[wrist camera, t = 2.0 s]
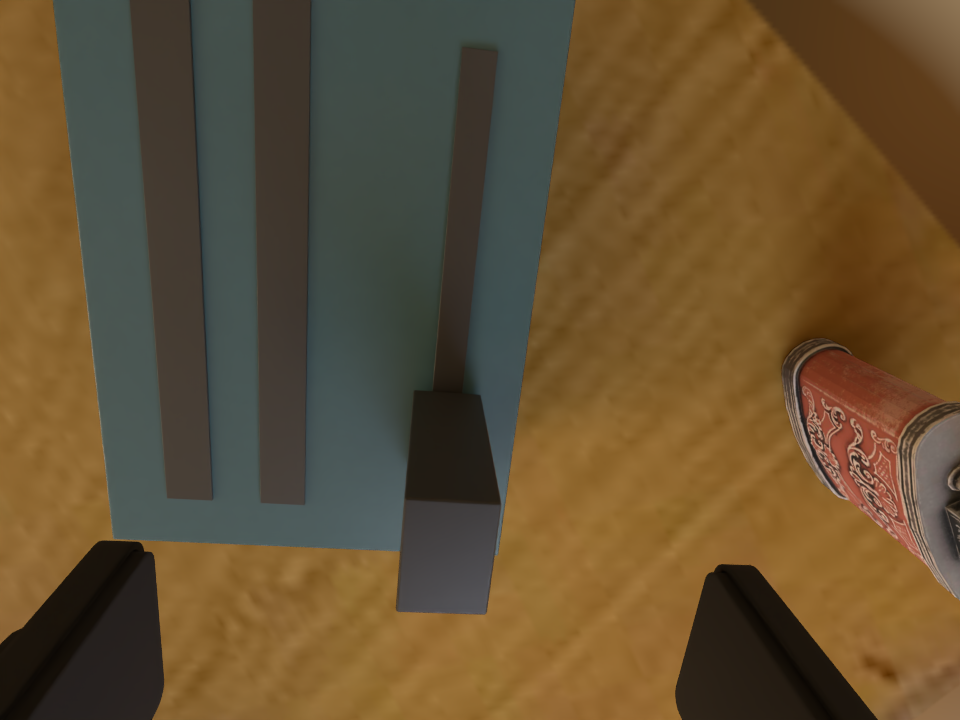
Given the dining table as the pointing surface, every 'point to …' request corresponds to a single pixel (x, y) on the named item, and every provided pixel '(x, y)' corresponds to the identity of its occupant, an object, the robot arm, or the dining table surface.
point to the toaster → (303, 246)
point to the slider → (448, 507)
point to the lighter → (881, 449)
